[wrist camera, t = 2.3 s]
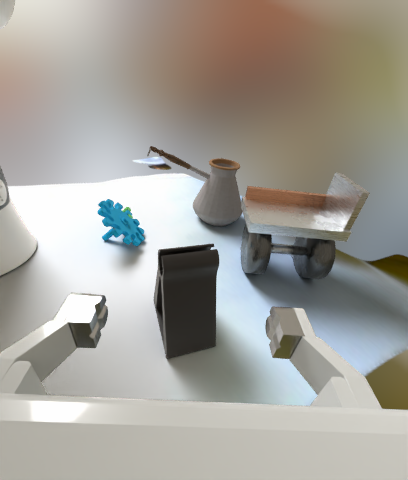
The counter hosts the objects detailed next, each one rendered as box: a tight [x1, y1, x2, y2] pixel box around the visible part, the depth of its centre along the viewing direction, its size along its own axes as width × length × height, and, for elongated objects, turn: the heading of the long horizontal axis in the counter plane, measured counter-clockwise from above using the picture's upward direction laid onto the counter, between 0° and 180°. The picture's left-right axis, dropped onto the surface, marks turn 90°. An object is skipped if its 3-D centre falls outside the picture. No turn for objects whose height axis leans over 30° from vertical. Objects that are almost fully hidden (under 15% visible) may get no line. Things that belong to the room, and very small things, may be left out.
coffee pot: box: [147, 146, 243, 226], centre depth 52 cm, size 21×12×15 cm, turn 97°
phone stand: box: [154, 244, 219, 359], centre depth 28 cm, size 9×6×12 cm, turn 19°
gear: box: [98, 199, 145, 246], centre depth 44 cm, size 11×6×10 cm
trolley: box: [241, 173, 370, 279], centre depth 39 cm, size 15×10×17 cm
